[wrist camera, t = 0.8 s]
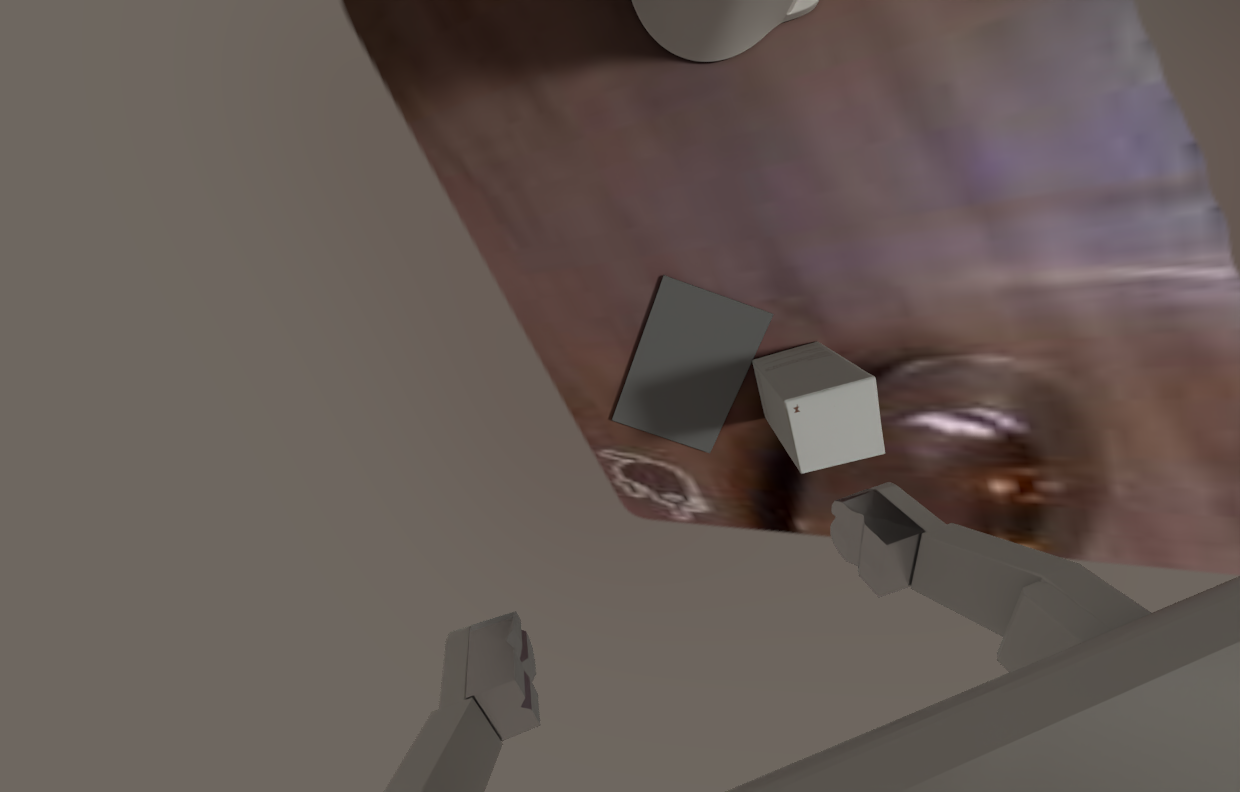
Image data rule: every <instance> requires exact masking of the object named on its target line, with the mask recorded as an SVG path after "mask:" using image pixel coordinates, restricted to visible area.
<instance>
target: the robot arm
mask: <svg viewBox="0 0 1240 792" xmlns="http://www.w3.org/2000/svg"><path fill="white" fill-rule="evenodd" d="M818 2H819V0H632V3H633V6H634V8H635V11H636V13H637V15H638V17H639V19H640V21H641V22H642V24H643V26H644V27H645V29H646V30H647V31H648V33H649V34H650V35H651V36H652V37H653V38H654V39H655V41H657V42H658V43H659V44H660V45H661V46H662V47H664V48H665V49H666V50H668V51H670V52H671V53H673V54H675V55H677V56H679V57H682V58H685V59H688V60H692V61H699V62H712V61H719V60H724V59H727V58H731V57H733V56H736V55H738V54H740V53H742V52H744V51H746V50H747V49H749V48H750V47H752V46H753V45H755V44H756V43H757V42H759V41H760V40H761V39H762V38H763V37H764V36H765V35H767V34H768V33H769V32H770V31H771V30H772V29H773V28H775V27H776V26H777V25H779V24H780V23H782V22H786V21H789V20H792V19H795V18H798V17H800V16H803V15H805V14H807V13H809V12H810V11H812V10H813V9H814V8H815V7H816V5H817V4H818ZM831 512H832V513H833V514H834V515H835V517H836V518H835V519H834V521H833V522H832V524H831V537H832V540H833V543H834V545H835V547H836V549H837V550H838V552H839V553H840V555H841V556H842V557H843V558H844V559H845V560H846V561H847V562H849V563H852V564H854V565H856V566H858V572H859V576H860V577H861V578H862V579H863V581H864V582H865V583H866V584H867V585H868V586H869V587H870V588H871V589H872V591H873V592H874V593H875V594H876V595H877V596H878V597H882V596H884V595H887V594H890V593H893V592H896V591H899V590H902V589H905V588H908V587H911V589H912V590H915V591H916V592H918V593H920V594H922V595H924V596H926V597H928V598H930V599H932V600H934V601H935V602H937V603H939V604H941V605H943V606H945V607H947V608H949V609H951V610H953V611H955V612H956V613H958V614H960V615H962V616H965V617H966V618H968V619H970V620H972V621H974V622H976V623H978V624H980V625H981V626H983V627H985V628H987V629H989V630H991V631H993V632H995V633H997V634H999V635H1001V636H1002V637H1003V640H1002V642H1001V644H1000V647H999V649H998V652H997V661H998V662H999V663H1001V665H1002V666H1004V668H1005V669H1006V670H1007V671H1008V672H1009V673H1007V674H1005V675H1002V676H1000V677H998V678H995V679H993V680H991V681H988V682H986V683H983V684H981V685H979V686H976V687H974V688H971V689H969V690H967V691H964V692H962V693H960V694H957V695H955V696H952V697H950V698H948V699H945V700H943V701H940V702H938V703H936V704H933V705H931V706H929V707H926V708H924V709H921V710H919V711H916V712H914V713H912V714H909V715H907V716H904V717H902V718H900V719H897V720H895V721H893V722H890V723H888V724H885V725H883V726H881V727H878V728H876V729H873V730H871V731H869V732H866V733H864V734H862V735H859V736H857V737H855V738H852V739H850V740H847V741H845V742H842V743H840V744H838V745H835V746H833V747H831V748H828V749H826V750H823V751H821V752H819V753H816V754H814V755H812V756H809V757H807V758H804V759H802V760H799V761H797V762H795V763H792V764H790V765H787V766H785V767H783V768H780V769H778V770H775V771H773V772H771V773H768V774H766V775H764V776H762V777H759V778H756V779H754V780H752V781H749V782H747V783H744V784H742V785H740V786H737V787H735V788H732V789H730V790H728V791H725V792H1240V576H1239V577H1237V578H1234V579H1232V580H1230V581H1227V582H1225V583H1223V584H1220V585H1217V586H1215V587H1213V588H1210V589H1208V590H1206V591H1203V592H1201V593H1198V594H1196V595H1194V596H1191V597H1189V598H1186V599H1184V600H1182V601H1179V602H1177V603H1174V604H1172V605H1170V606H1167V607H1165V608H1163V609H1160V610H1158V611H1156V612H1153V613H1151V612H1149V611H1148V610H1147V609H1145V608H1144V607H1142V606H1140V605H1139V604H1137V603H1136V602H1135V601H1133V600H1132V599H1130V598H1129V597H1127V596H1126V595H1125V594H1123V593H1122V592H1120V591H1119V590H1117V589H1116V588H1114V587H1113V586H1111V585H1109V584H1108V583H1107V582H1105V581H1104V580H1102V579H1101V578H1100V577H1098V576H1097V575H1095V574H1094V573H1092V572H1091V571H1089V570H1088V569H1086V568H1085V567H1083V566H1082V565H1081V564H1079V563H1075V562H1072V561H1069V560H1066V559H1063V558H1060V557H1057V556H1054V555H1050V554H1047V553H1044V552H1041V551H1038V550H1035V549H1032V548H1029V547H1025V546H1022V545H1019V544H1016V543H1013V542H1010V541H1007V540H1004V539H1000V538H997V537H994V536H991V535H988V534H985V533H982V532H979V531H975V530H972V529H969V528H966V527H963V526H960V525H957V524H954V523H950V524H947V525H946V524H945V523H944V522H942V521H941V520H940V519H939V518H937V517H936V516H935V515H934V514H932V513H931V512H930V511H928V510H927V509H926V508H925V507H923V506H922V505H921V504H920V503H918V502H917V501H916V500H914V499H913V498H912V497H911V496H909V495H908V494H907V493H906V492H904V491H903V490H902V489H900V488H899V487H898V486H897V485H895V484H893V483H890V482H888V483H885V484H882V485H879V486H876V487H873V488H871V489H866V490H863V491H860V492H858V493H855V494H852V495H849V496H847V497H844V498H841V499H838V500H836V501H834V503H833V504H832V511H831ZM535 675H536V667H535V659H534V653H533V648H532V645H531V642H530V639H529V636H528V634H527V632H526V631H523V630H521V620H520V618H519V616H518V614H517V612H516V611H515V612H512V613H509V614H505V615H503V616H499V617H496V618H493V619H490V620H486V621H483V622H480V623H477V624H474V625H471V626H468V627H465V628H462V629H459V630H456V631H453V632H450V633H449V634H448V637H447V639H446V644H445V654H444V663H443V673H442V682H441V692H440V701H439V709H438V710H435V711H433V712H432V713H431V714H430V716H429V717H428V719H427V721H426V722H425V724H424V726H423V727H422V729H421V731H420V733H419V734H418V736H417V737H416V739H415V741H414V742H413V744H412V746H411V747H410V749H409V751H408V752H407V754H406V756H405V757H404V759H403V760H402V762H401V764H400V766H399V767H398V769H397V771H396V772H395V774H394V775H393V777H392V779H391V780H390V782H389V784H388V785H387V787H386V789H385V790H384V792H484V791H485V789H486V786H487V783H488V781H489V778H490V776H491V773H492V771H493V768H494V765H495V763H496V760H497V758H498V755H499V752H500V750H501V747H502V745H503V744H502V742H501V741H504V740H506V739H509V738H511V737H513V736H516V735H518V734H521V733H523V732H526V731H528V730H531V729H533V728H535V727H538V726H540V716H539V703H538V693H537V691H536V689H535V687H534V685H533V683H532V681H533V679H534V677H535Z"/></svg>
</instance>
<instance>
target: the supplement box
mask: <svg viewBox="0 0 1240 792" xmlns="http://www.w3.org/2000/svg"><path fill="white" fill-rule="evenodd" d="M752 363H753V368H754V372H755V376H756V381H757V385H758V389H759V394H760V398H761V403H762V407H763V411H764V415H765V418H766V420H767V421H768V423H769V424H770V426H771V428H772V429H773V431H774V432H775V434H776V435H777V437H778V438H779V440H780V442H781V443H782V445H783V446H784V448H785V450H786V451H787V453H788V454H789V456H790V457H791V459H792V460H793V462H794V463H795V465H796V466H797V468H798V470H799V471H800V472H801V473H806V472H810V471H815V470H819V469H823V468H827V467H831V466H835V465H839V464H844V463H848V462H852V461H856V460H860V459H865V458H869V457H873V456H877V455H882V454H885V449H884V442H883V435H882V428H881V421H880V412H879V403H878V394H877V386H876V378H875V377H874V376H872V375H870V374H869V373H867V372H865V371H864V370H862V369H861V368H859V367H857V366H856V365H854V364H853V363H851V362H850V361H848V360H846V359H845V358H843V357H842V356H840V355H839V354H837V353H835V352H834V351H832V350H831V349H829V348H827V347H826V346H824V345H822V344H821V343H819V342H814V343H810V344H807V345H803V346H799V347H796V348H792V349H789V350H785V351H782V352H778V353H775V354H771V355H768V356H765V357H761V358H758V359H754V360H752Z"/></svg>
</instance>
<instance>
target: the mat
mask: <svg viewBox="0 0 1240 792" xmlns="http://www.w3.org/2000/svg"><path fill="white" fill-rule="evenodd" d="M773 315H774V314H772V313H769V312H766V311H764V310H761V309H758V308H755V307H752V306H749V305H747V304H744V303H741V302H738V301H735V300H732V299H730V298H727V297H724V296H721V295H718V294H716V293H713V292H710V291H707V290H704V289H701V288H699V287H696V286H693V285H690V284H687V283H684V282H682V281H679V280H676V279H673V278H670V277H667V276H665V275H664V276H663V279H662V281H661V284H660V287H659V290H658V292H657V295H656V298H655V301H654V304H653V306H652V309H651V312H650V315H649V318H648V320H647V323H646V326H645V329H644V332H643V334H642V337H641V340H640V343H639V345H638V348H637V351H636V354H635V357H634V359H633V362H632V365H631V368H630V371H629V373H628V376H627V379H626V382H625V385H624V387H623V390H622V393H621V396H620V398H619V401H618V404H617V407H616V410H615V412H614V415H613V418H612V420H613V421H616V422H619V423H622V424H625V425H628V426H631V427H634V428H637V429H639V430H642V431H645V432H648V433H651V434H654V435H657V436H660V437H663V438H666V439H669V440H672V441H675V442H678V443H681V444H684V445H687V446H690V447H693V448H696V449H699V450H702V451H705V452H708V453H710V452H711V450H712V447H713V445H714V443H715V441H716V439H717V437H718V434H719V432H720V430H721V428H722V426H723V423H724V421H725V419H726V417H727V415H728V413H729V410H730V408H731V406H732V404H733V402H734V400H735V397H736V395H737V393H738V391H739V389H740V386H741V384H742V382H743V380H744V378H745V376H746V373H747V371H748V369H749V367H750V365H751V362H752V360H753V358H754V356H755V354H756V352H757V349H758V347H759V345H760V343H761V341H762V339H763V336H764V334H765V332H766V330H767V328H768V325H769V323H770V321H771V319H772V317H773Z"/></svg>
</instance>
